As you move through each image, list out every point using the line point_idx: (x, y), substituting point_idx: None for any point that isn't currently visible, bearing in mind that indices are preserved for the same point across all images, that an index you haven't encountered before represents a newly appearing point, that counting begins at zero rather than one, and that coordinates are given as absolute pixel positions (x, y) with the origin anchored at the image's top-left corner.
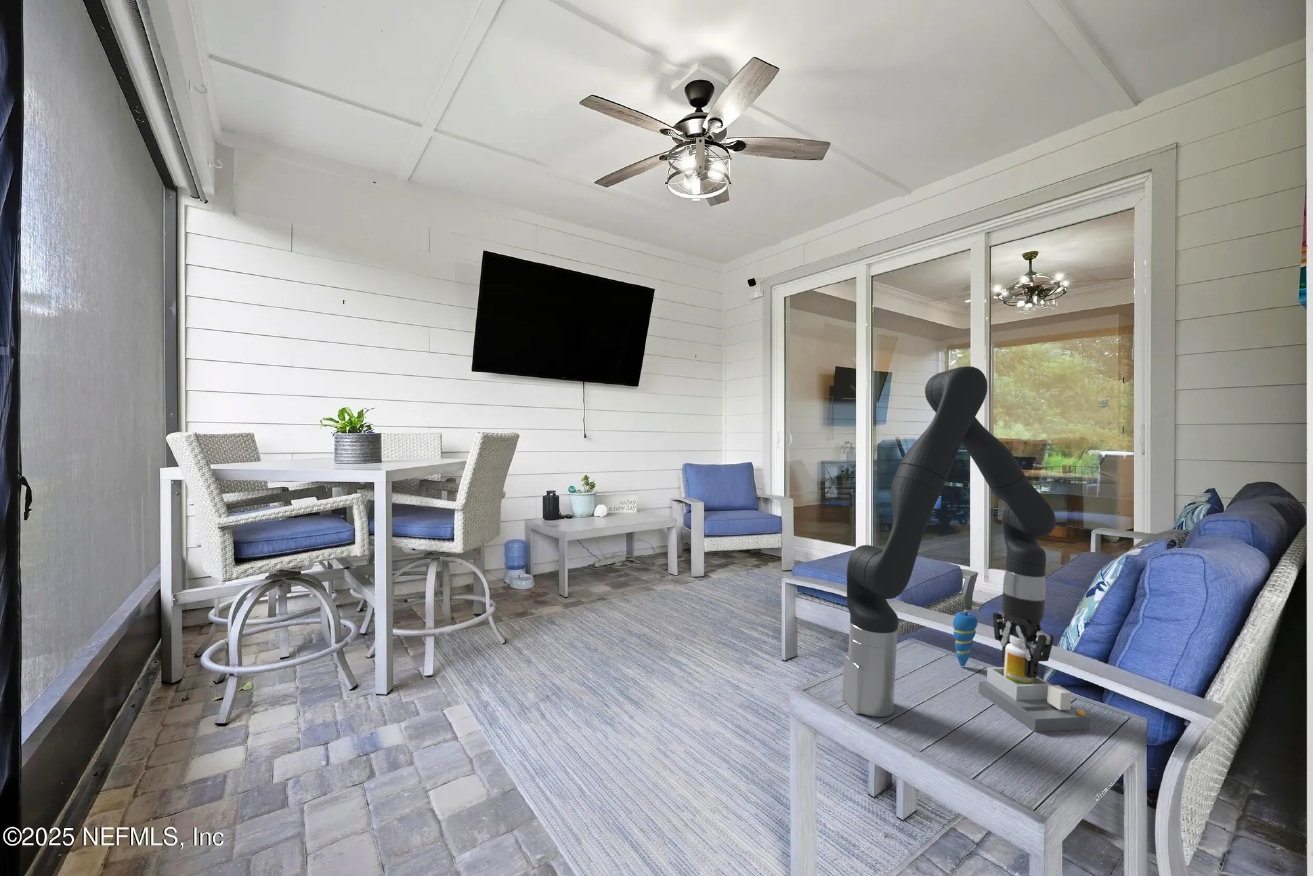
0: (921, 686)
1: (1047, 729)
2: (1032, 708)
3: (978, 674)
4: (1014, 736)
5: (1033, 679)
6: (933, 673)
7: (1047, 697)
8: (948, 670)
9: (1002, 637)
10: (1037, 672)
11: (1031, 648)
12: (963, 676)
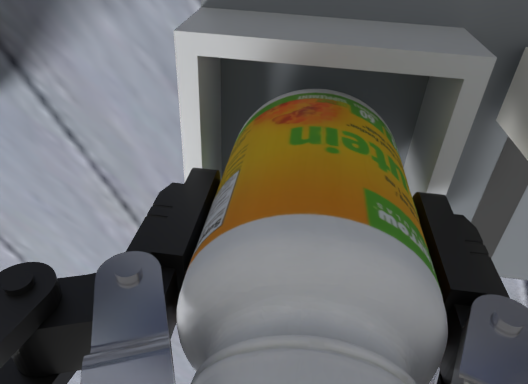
0: (172, 338)
1: None
2: (486, 226)
3: (40, 72)
4: None
5: (396, 147)
6: (68, 252)
7: (506, 132)
8: (26, 182)
9: (76, 363)
10: (479, 240)
11: (367, 302)
12: (77, 162)
